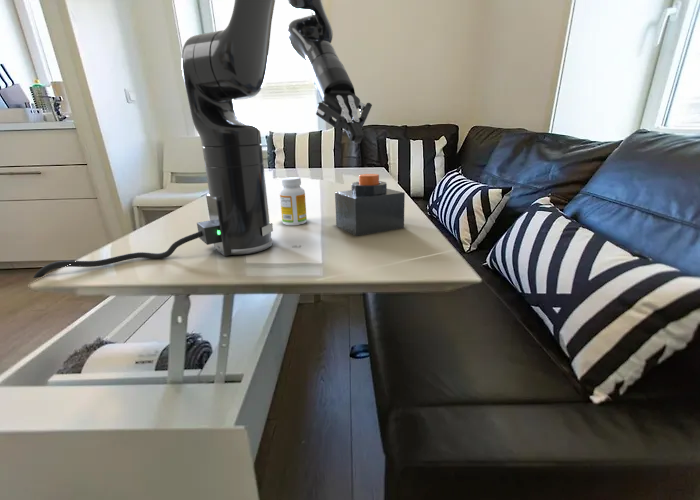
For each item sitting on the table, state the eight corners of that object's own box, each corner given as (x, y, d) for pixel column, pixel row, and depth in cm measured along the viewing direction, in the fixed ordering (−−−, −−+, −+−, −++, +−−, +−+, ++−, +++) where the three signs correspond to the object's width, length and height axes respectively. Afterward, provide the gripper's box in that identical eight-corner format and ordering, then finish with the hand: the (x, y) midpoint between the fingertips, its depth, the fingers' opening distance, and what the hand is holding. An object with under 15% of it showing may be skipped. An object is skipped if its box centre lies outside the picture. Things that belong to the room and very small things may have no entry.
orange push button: (365, 187, 69) (365, 176, 68) (355, 185, 72) (355, 174, 71) (382, 185, 70) (382, 175, 70) (372, 183, 74) (372, 173, 73)
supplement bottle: (305, 218, 82) (302, 176, 79) (308, 224, 77) (305, 179, 74) (281, 220, 81) (277, 177, 78) (283, 226, 76) (279, 180, 73)
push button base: (356, 236, 68) (355, 188, 65) (336, 226, 75) (334, 183, 72) (404, 228, 72) (405, 183, 69) (380, 219, 80) (380, 178, 77)
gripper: (306, 64, 73) (333, 126, 66) (363, 67, 78) (393, 125, 72) (300, 95, 79) (323, 155, 72) (353, 96, 84) (380, 151, 78)
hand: (358, 140), depth 72 cm, fingers closed
